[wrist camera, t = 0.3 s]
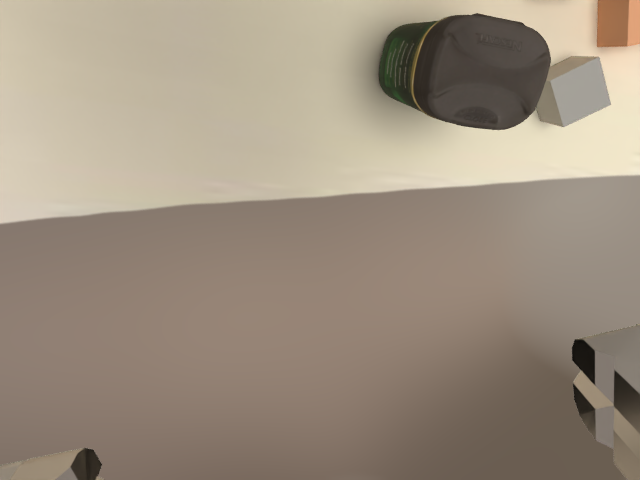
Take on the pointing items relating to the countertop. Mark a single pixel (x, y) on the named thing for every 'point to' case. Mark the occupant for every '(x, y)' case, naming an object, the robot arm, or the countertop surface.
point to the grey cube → (573, 91)
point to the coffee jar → (467, 69)
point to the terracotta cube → (618, 23)
